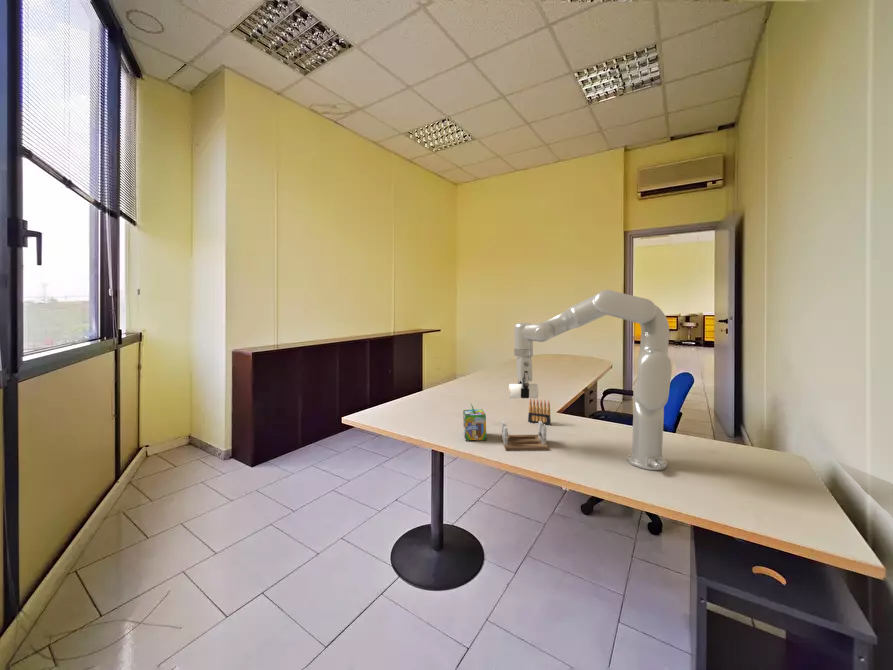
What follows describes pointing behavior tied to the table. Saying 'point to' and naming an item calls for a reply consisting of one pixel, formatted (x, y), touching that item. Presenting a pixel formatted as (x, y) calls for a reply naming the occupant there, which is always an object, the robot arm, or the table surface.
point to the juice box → (474, 424)
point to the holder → (524, 439)
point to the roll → (516, 391)
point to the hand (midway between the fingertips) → (523, 395)
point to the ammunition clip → (539, 412)
